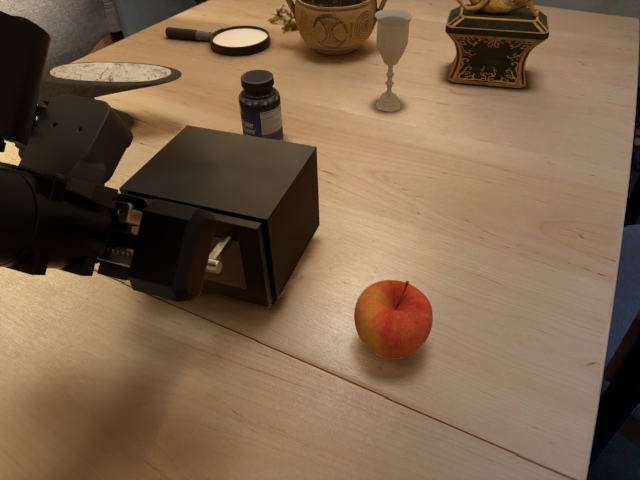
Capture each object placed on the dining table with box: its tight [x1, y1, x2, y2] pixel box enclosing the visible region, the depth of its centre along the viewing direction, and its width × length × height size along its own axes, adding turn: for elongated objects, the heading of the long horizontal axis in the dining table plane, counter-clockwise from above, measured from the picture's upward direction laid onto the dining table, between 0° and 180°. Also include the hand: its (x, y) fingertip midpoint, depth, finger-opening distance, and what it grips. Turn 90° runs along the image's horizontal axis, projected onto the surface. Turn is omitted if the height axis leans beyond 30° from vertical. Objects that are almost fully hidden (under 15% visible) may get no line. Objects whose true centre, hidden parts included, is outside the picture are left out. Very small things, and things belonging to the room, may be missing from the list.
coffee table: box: [37, 61, 183, 129], centre depth 85 cm, size 25×9×9 cm, turn 82°
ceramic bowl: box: [285, 0, 388, 56], centre depth 104 cm, size 22×17×15 cm
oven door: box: [119, 192, 272, 309], centre depth 51 cm, size 5×15×11 cm, turn 70°
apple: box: [353, 279, 434, 360], centre depth 50 cm, size 7×7×8 cm
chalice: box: [375, 8, 414, 112], centre depth 85 cm, size 6×6×15 cm
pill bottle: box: [238, 69, 285, 141], centre depth 78 cm, size 6×6×11 cm
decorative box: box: [444, 0, 550, 89], centre depth 91 cm, size 20×10×20 cm, turn 74°
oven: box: [118, 124, 321, 306], centre depth 58 cm, size 13×16×13 cm
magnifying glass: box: [164, 25, 271, 56], centre depth 113 cm, size 12×24×2 cm, turn 71°
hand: (152, 238), depth 45 cm, fingers closed
